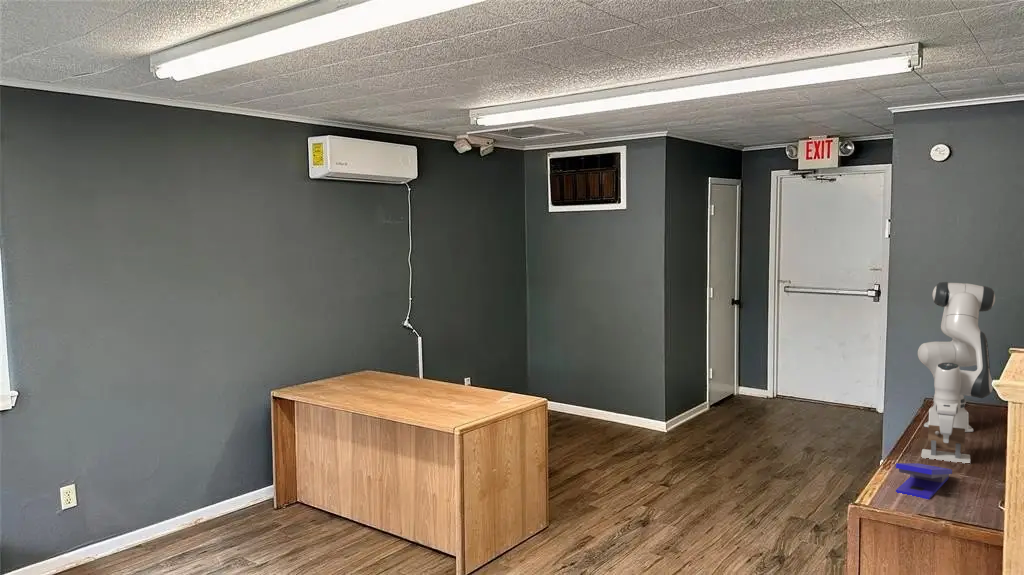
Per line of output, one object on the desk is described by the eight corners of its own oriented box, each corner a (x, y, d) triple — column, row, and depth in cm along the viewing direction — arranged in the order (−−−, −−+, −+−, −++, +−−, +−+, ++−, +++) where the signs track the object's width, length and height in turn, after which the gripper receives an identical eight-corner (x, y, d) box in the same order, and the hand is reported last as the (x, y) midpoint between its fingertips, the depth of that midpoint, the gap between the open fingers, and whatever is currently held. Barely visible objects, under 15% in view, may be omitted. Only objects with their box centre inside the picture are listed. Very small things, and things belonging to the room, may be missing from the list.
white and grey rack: (922, 452, 288) (922, 435, 287) (970, 458, 279) (970, 440, 279) (921, 457, 281) (921, 440, 281) (970, 464, 273) (970, 445, 272)
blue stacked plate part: (893, 493, 244) (894, 464, 243) (915, 472, 264) (916, 446, 264) (932, 501, 236) (933, 471, 235) (952, 479, 257) (952, 452, 256)
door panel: (928, 445, 285) (928, 424, 284) (964, 449, 278) (964, 428, 278) (927, 447, 281) (928, 427, 281) (964, 451, 275) (964, 431, 274)
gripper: (938, 399, 289) (937, 433, 290) (936, 410, 272) (935, 446, 273) (956, 401, 286) (956, 435, 287) (956, 412, 269) (955, 448, 270)
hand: (946, 441), depth 280 cm, fingers closed on door panel, 3 cm apart
